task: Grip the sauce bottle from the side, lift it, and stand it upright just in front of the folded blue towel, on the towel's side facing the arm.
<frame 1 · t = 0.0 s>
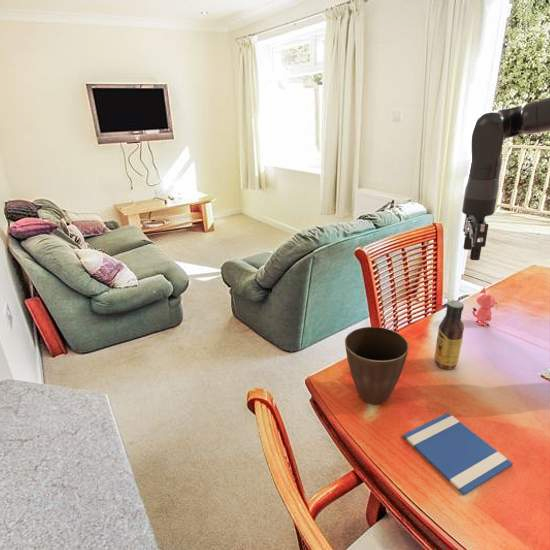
hand: (470, 254, 103), 30 cm above the table, tool pointing down, fingers open, 8 cm apart
sauce bottle: (445, 364, 107), on the table
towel: (454, 450, 80), on the table
flower pot: (372, 395, 97), on the table
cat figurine: (481, 323, 126), on the table
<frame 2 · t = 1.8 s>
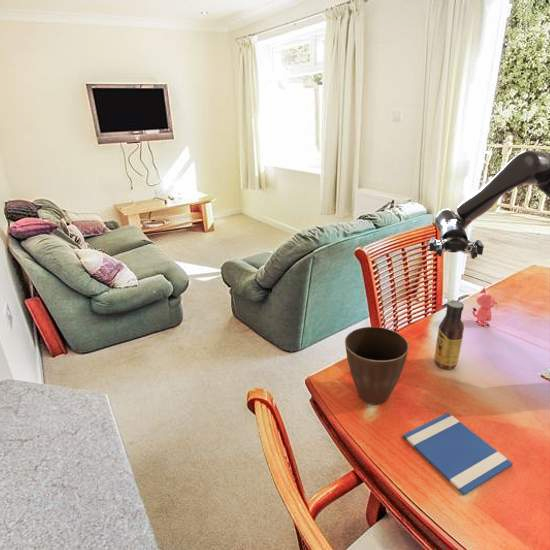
hand: (457, 254, 105), 30 cm above the table, tool horizontal, fingers open, 8 cm apart
nothing on the table moved.
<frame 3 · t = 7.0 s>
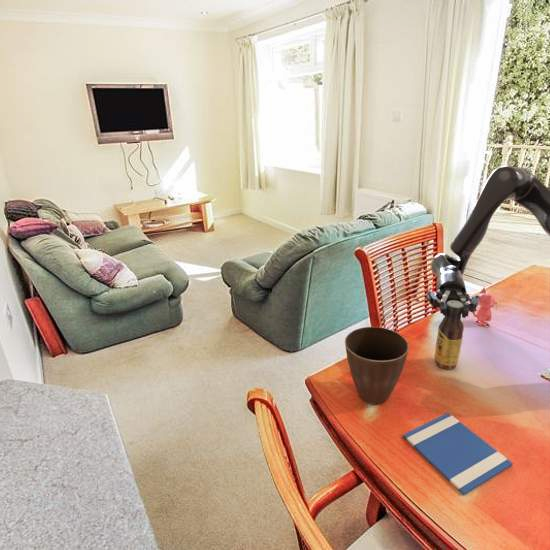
hand: (454, 313, 97), 18 cm above the table, tool horizontal, fingers closed on sauce bottle, 4 cm apart
sauce bottle: (445, 364, 107), on the table, touching gripper
everything else where it was.
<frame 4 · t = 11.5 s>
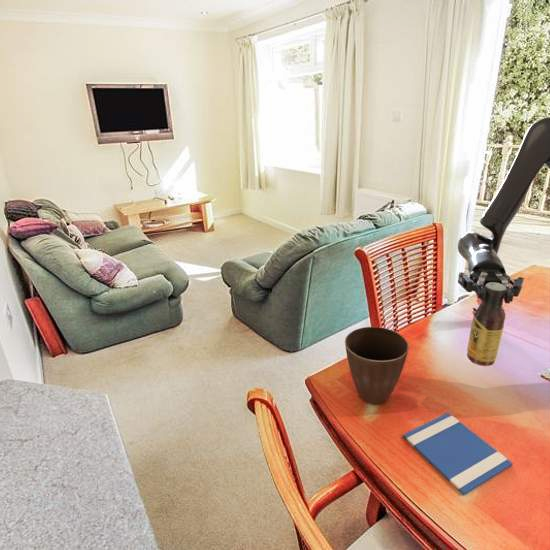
hand: (496, 298, 80), 30 cm above the table, tool horizontal, fingers closed on sauce bottle, 4 cm apart
sauce bottle: (480, 360, 89), point 11 cm above the table, touching gripper
everything else where it was.
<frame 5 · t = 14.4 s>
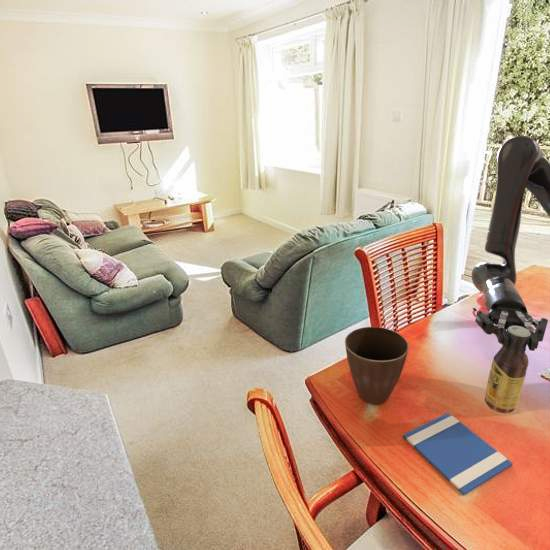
hand: (519, 344, 73), 24 cm above the table, tool horizontal, fingers closed on sauce bottle, 4 cm apart
sauce bottle: (499, 406, 83), point 6 cm above the table, touching gripper
everything else where it was.
when the fingers open (18 cm above the table, at t = 16.5 s): sauce bottle stays where it is, on the table.
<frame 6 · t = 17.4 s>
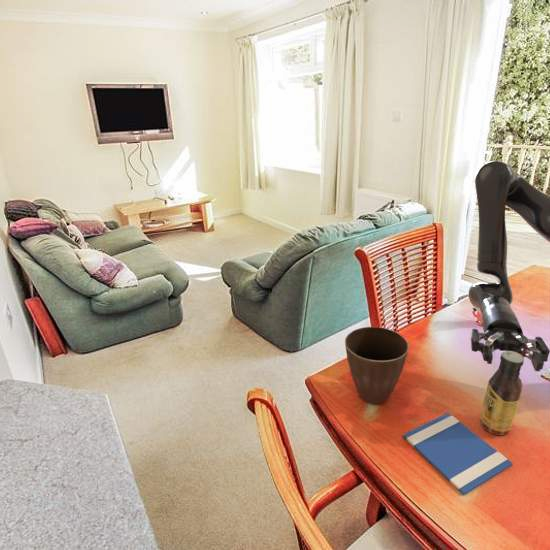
hand: (514, 364, 76), 19 cm above the table, tool horizontal, fingers open, 8 cm apart
sauce bottle: (494, 427, 85), on the table
everything else where it was.
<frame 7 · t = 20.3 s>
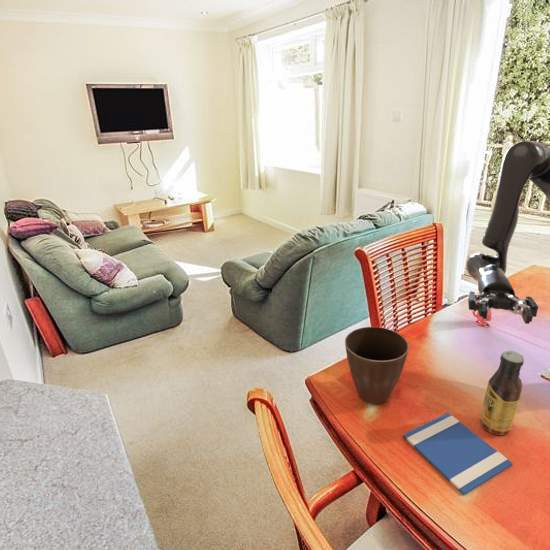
hand: (506, 317, 85), 23 cm above the table, tool horizontal, fingers open, 8 cm apart
nothing on the table moved.
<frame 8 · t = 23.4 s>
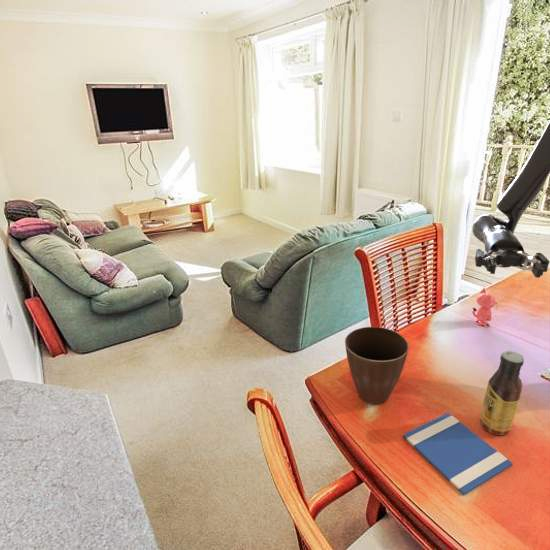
hand: (515, 271, 81), 34 cm above the table, tool horizontal, fingers open, 8 cm apart
nothing on the table moved.
at the end: sauce bottle inside the target area on the table beside the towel (0.3 cm from its centre), on the table; sauce bottle tilted 0°; the gripper is holding nothing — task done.
